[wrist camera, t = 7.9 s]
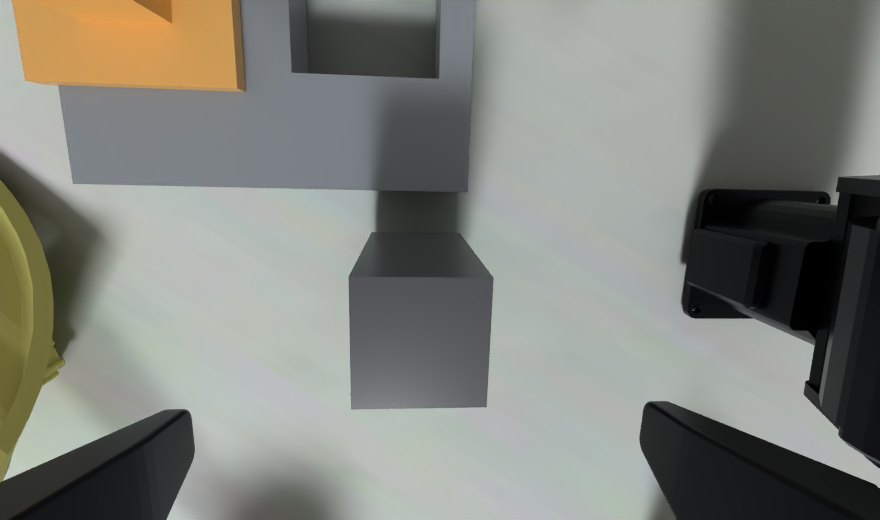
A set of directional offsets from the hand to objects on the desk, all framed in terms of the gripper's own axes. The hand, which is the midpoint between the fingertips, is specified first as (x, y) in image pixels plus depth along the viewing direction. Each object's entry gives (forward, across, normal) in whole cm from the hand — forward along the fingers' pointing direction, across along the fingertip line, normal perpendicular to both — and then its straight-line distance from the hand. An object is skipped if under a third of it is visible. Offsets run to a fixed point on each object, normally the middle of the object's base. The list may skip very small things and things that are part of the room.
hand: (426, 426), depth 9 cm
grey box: (+13, 0, 0) cm, 13 cm away
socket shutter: (+10, +10, -11) cm, 18 cm away
